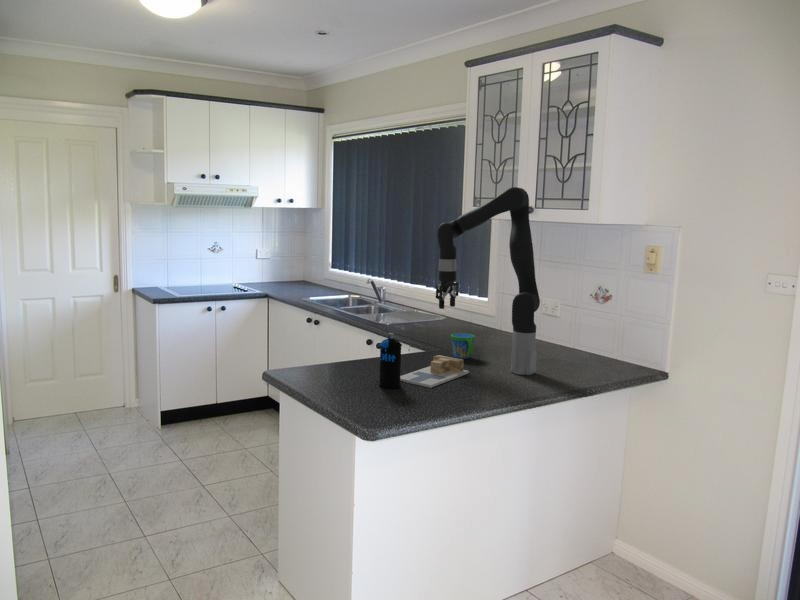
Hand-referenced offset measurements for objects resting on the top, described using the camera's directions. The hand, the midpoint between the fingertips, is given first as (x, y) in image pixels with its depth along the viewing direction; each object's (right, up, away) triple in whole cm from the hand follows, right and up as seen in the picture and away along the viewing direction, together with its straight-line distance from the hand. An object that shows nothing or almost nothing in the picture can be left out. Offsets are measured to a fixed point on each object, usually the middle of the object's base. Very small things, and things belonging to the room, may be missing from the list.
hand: (447, 307), depth 283 cm
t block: (-3, -25, -17) cm, 30 cm away
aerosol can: (-24, -29, -37) cm, 53 cm away
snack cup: (+7, -23, +12) cm, 26 cm away
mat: (-7, -27, -22) cm, 36 cm away
